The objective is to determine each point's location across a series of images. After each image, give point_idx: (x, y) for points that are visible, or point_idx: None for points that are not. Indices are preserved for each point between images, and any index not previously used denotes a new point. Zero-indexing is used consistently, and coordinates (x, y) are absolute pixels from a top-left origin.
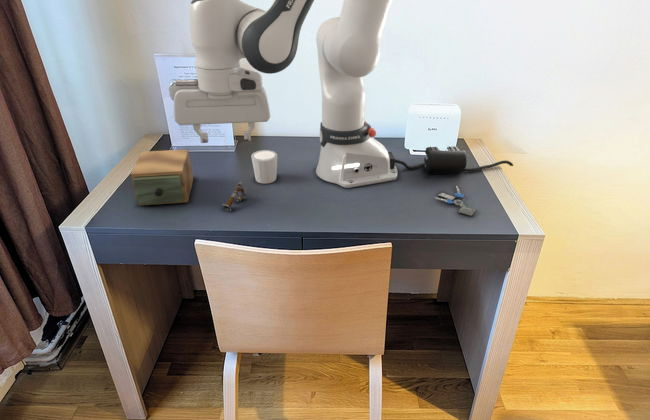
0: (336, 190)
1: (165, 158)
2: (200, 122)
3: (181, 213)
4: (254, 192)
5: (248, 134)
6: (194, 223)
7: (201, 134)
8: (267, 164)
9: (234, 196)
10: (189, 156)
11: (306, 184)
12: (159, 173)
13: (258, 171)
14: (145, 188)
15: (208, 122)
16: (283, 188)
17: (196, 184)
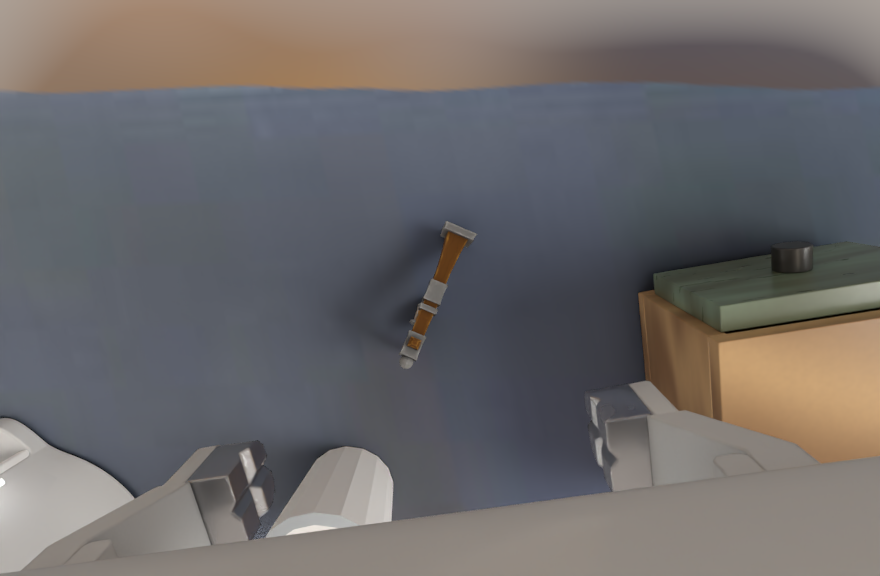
0: (48, 401)
1: None
2: (747, 488)
3: (646, 204)
4: (375, 377)
5: (181, 478)
6: (574, 128)
7: (668, 422)
8: (301, 502)
9: (430, 284)
10: None
11: (177, 444)
12: (845, 320)
13: (358, 482)
14: (872, 263)
15: (611, 504)
16: (263, 411)
17: None
